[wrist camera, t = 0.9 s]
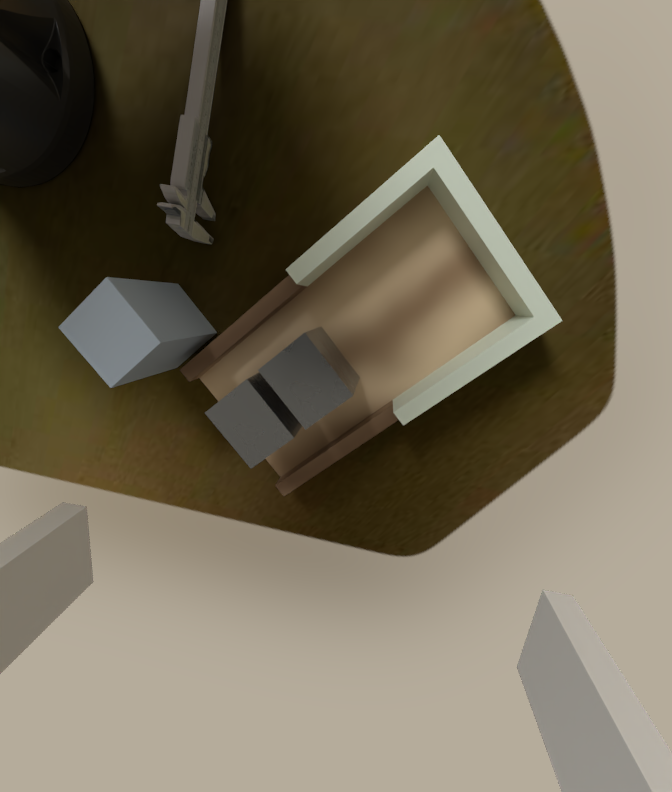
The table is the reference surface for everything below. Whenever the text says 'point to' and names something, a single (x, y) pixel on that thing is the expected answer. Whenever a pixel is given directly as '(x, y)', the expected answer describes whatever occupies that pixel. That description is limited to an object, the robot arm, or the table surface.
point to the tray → (485, 242)
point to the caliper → (196, 131)
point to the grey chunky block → (311, 376)
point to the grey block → (136, 329)
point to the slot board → (365, 328)
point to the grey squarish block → (254, 420)
